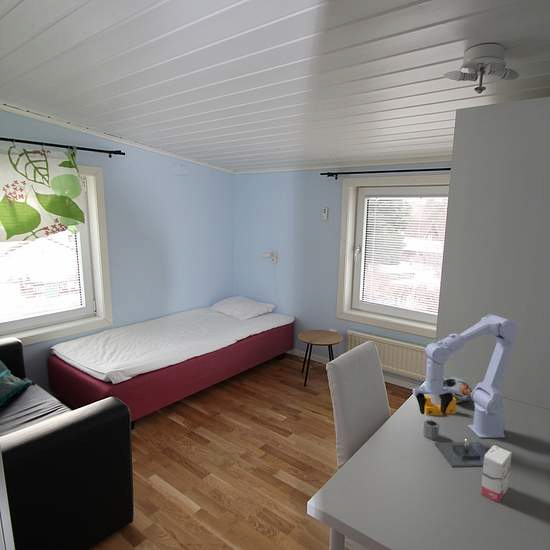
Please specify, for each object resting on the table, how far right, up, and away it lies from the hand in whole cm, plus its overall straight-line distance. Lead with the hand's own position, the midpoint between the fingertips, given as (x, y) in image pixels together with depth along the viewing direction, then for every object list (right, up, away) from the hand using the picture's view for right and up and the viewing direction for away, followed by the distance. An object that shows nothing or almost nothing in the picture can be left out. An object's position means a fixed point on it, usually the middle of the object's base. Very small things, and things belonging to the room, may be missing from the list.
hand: (432, 412), depth 134 cm
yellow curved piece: (+11, -7, +18) cm, 22 cm away
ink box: (+7, -13, -26) cm, 30 cm away
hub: (0, -9, +1) cm, 9 cm away
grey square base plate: (+7, -11, -9) cm, 16 cm away
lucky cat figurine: (+22, -5, +29) cm, 37 cm away
